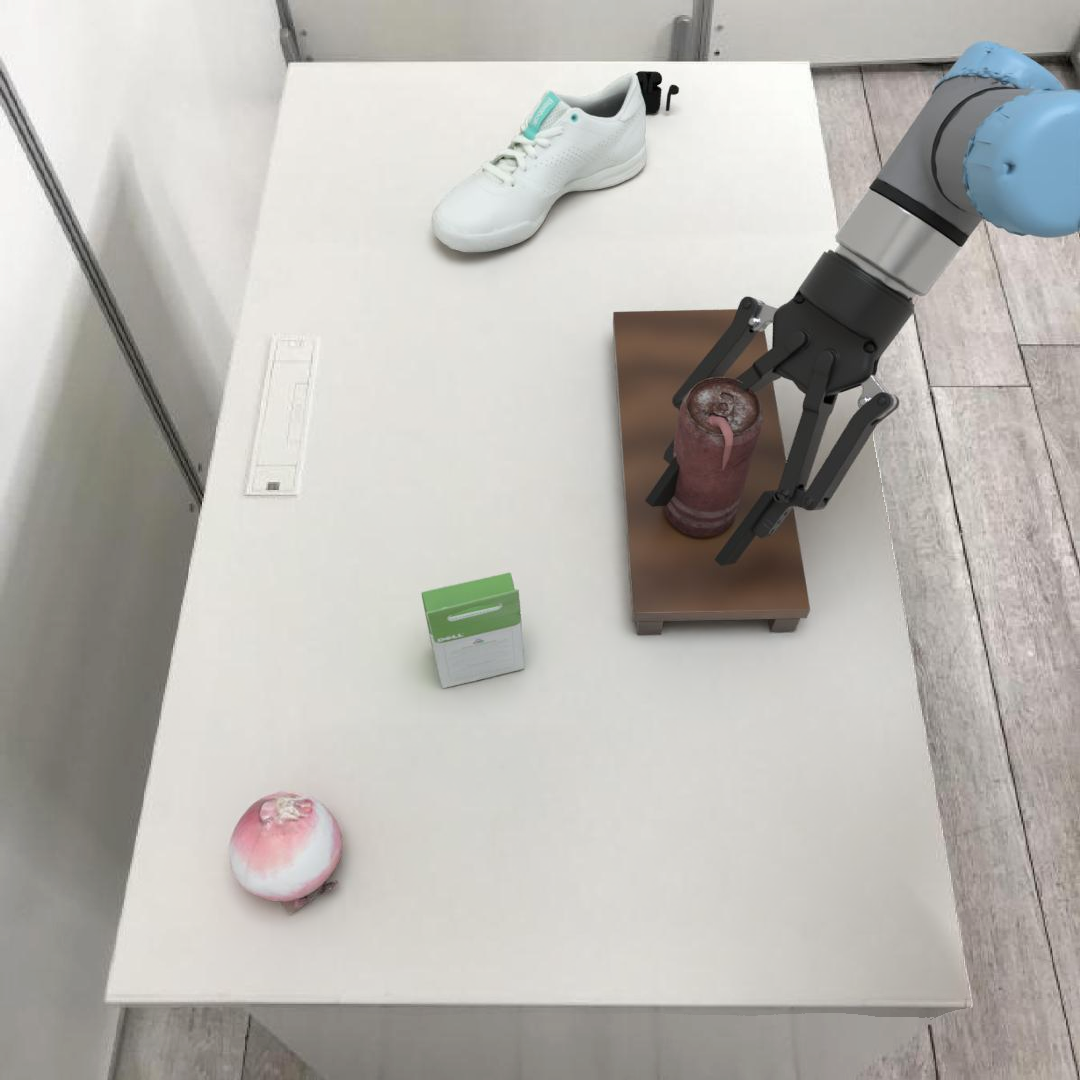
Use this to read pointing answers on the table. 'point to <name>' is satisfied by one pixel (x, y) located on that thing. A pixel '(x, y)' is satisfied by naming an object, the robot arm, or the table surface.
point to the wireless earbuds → (654, 90)
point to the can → (713, 455)
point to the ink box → (475, 629)
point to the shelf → (646, 432)
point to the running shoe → (547, 166)
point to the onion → (285, 848)
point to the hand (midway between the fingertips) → (689, 531)
